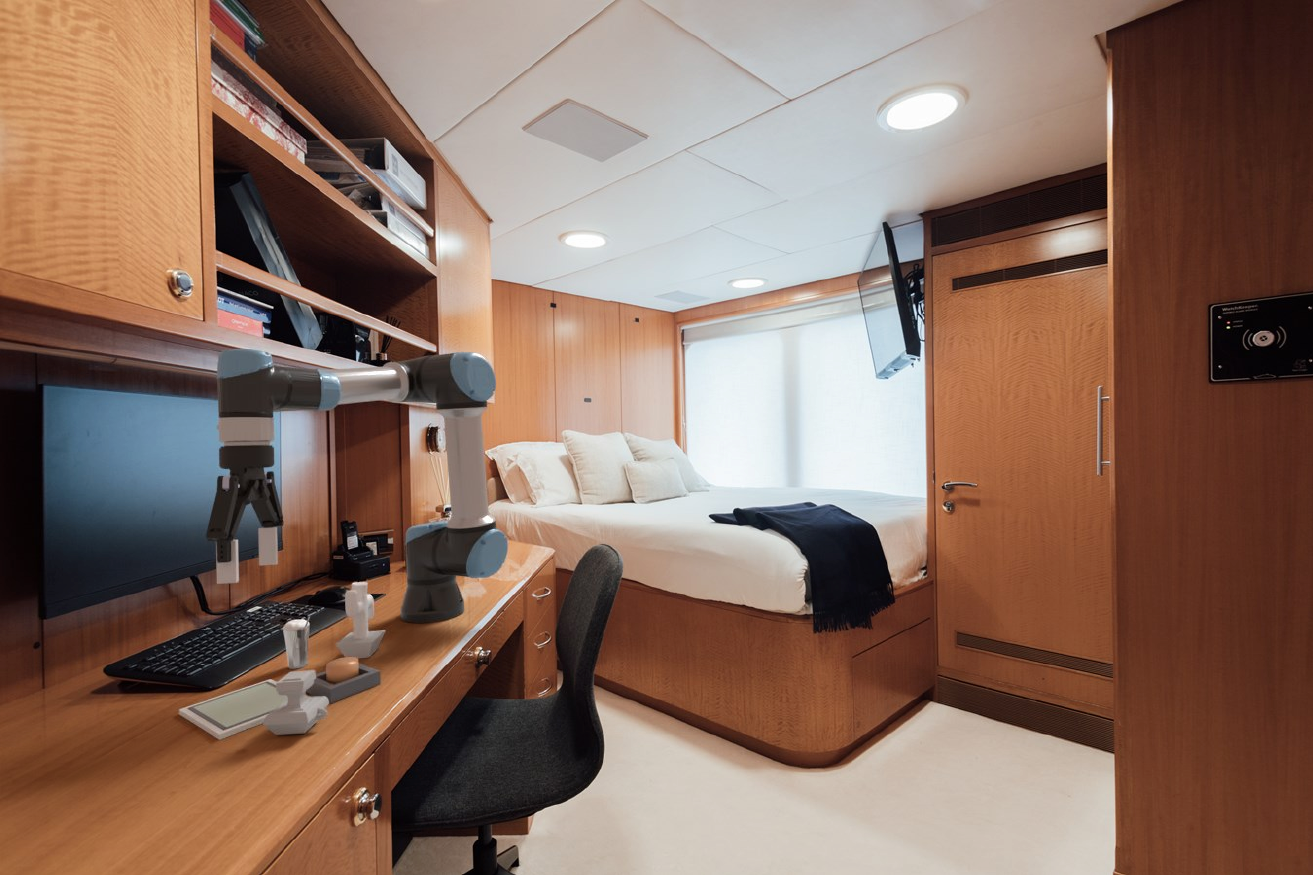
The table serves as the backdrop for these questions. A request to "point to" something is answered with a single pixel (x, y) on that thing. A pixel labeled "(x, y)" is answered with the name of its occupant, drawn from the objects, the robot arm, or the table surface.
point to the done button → (342, 670)
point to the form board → (235, 709)
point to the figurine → (360, 624)
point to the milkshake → (296, 642)
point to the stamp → (296, 705)
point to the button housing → (345, 684)
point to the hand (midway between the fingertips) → (249, 573)
